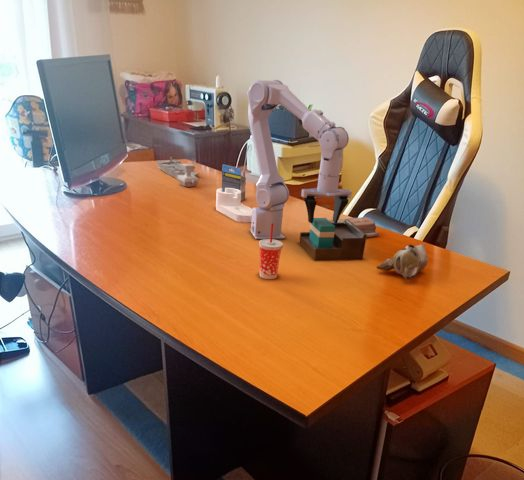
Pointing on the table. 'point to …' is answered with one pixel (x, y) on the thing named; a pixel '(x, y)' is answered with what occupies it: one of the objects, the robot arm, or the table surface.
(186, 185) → the stamp
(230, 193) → the bracket
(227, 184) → the label tape box
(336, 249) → the step shelf
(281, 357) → the table surface
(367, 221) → the packaged product
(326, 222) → the block
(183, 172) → the architectural model
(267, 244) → the beverage cup
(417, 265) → the ceramic sculpture
